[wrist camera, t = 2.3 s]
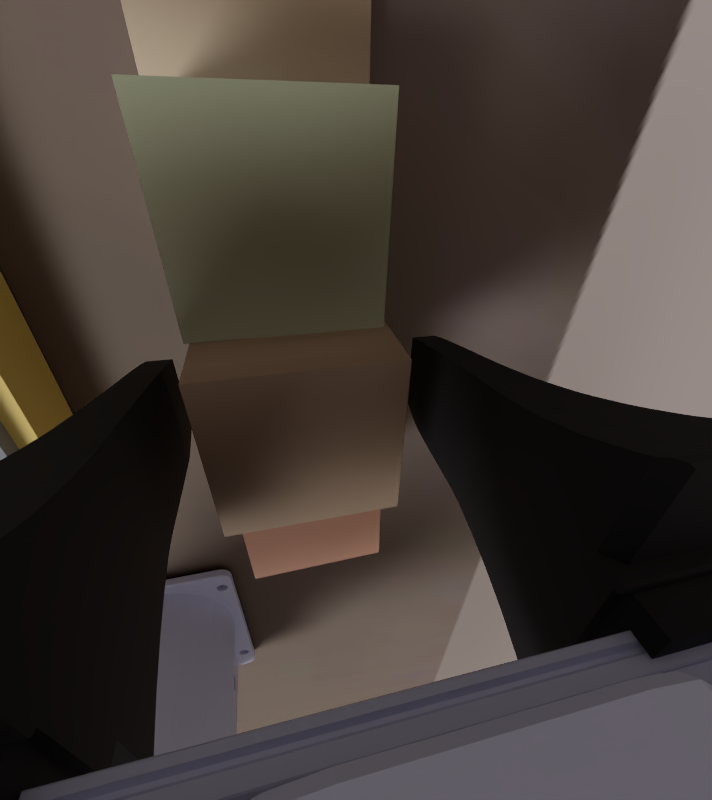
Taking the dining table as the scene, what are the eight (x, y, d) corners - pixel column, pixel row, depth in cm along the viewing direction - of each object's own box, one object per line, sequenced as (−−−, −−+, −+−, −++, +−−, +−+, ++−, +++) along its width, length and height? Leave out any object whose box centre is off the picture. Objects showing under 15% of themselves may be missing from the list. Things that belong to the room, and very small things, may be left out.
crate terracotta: (352, 468, 16) (378, 552, 13) (253, 485, 15) (255, 579, 12) (350, 387, 14) (382, 464, 11) (234, 402, 13) (230, 491, 10)
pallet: (354, 488, 19) (398, 638, 13) (249, 505, 18) (249, 674, 13) (356, -65, 9) (544, -405, 3) (114, -89, 8) (-223, -624, 2)
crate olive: (347, 270, 11) (383, 328, 8) (204, 276, 11) (183, 343, 8) (348, 96, 9) (398, 85, 6) (165, 90, 8) (111, 73, 5)
